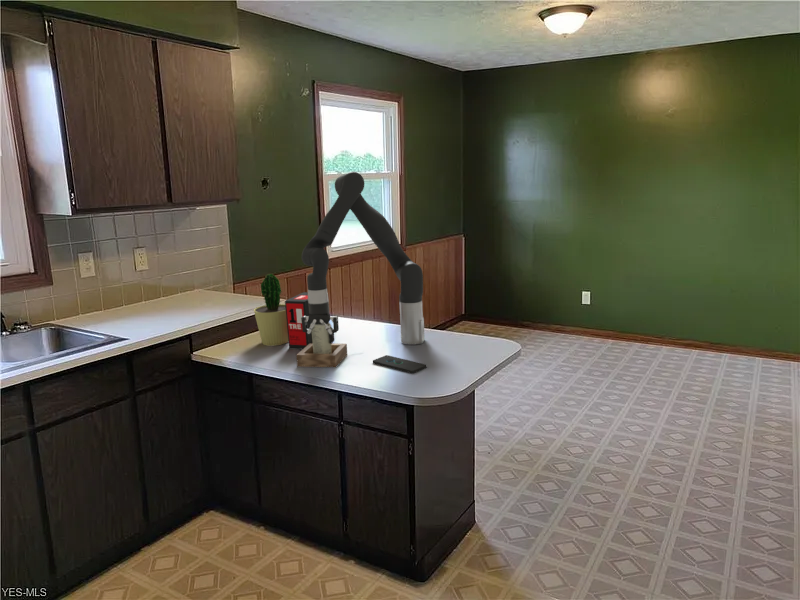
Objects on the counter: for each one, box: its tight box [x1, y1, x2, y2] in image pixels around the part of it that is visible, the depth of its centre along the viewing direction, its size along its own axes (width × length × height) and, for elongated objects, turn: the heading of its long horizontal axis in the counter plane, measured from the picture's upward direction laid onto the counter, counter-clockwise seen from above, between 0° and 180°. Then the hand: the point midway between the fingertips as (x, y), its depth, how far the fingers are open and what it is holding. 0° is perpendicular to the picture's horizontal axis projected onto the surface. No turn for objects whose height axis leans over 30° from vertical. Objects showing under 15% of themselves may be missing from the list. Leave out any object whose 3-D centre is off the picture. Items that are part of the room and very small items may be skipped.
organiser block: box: [295, 342, 348, 368], centre depth 230 cm, size 15×15×4 cm
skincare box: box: [311, 322, 332, 354], centre depth 229 cm, size 6×4×12 cm
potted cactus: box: [253, 272, 289, 347], centre depth 255 cm, size 15×15×30 cm
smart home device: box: [372, 355, 427, 374], centre depth 221 cm, size 8×2×20 cm
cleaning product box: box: [284, 291, 312, 350], centre depth 252 cm, size 16×9×20 cm, turn 162°
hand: (321, 342), depth 229 cm, fingers closed on skincare box, 7 cm apart
